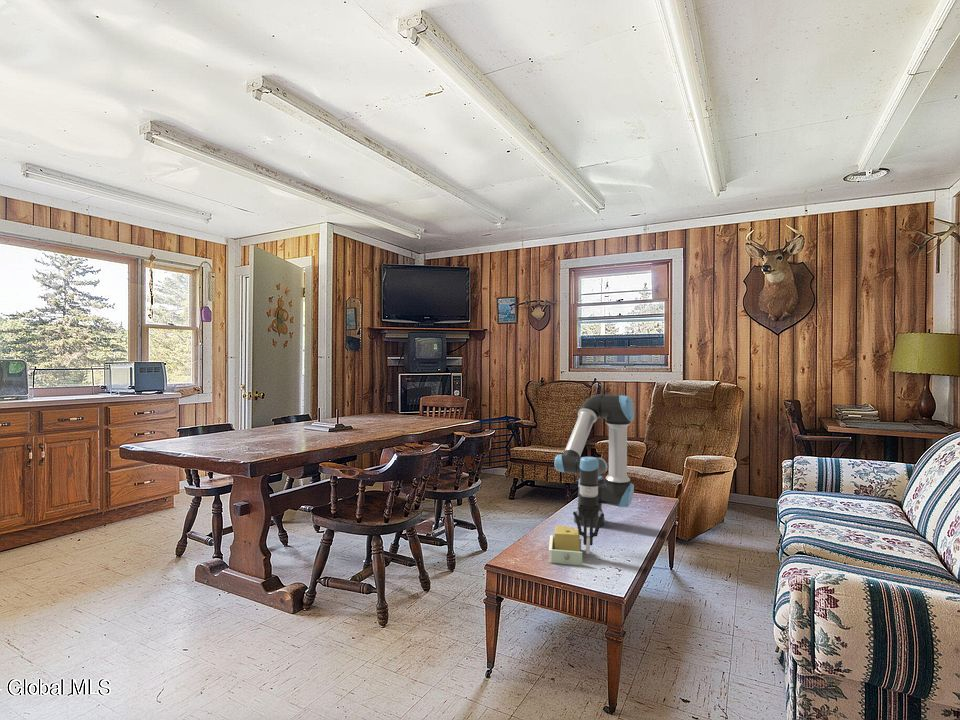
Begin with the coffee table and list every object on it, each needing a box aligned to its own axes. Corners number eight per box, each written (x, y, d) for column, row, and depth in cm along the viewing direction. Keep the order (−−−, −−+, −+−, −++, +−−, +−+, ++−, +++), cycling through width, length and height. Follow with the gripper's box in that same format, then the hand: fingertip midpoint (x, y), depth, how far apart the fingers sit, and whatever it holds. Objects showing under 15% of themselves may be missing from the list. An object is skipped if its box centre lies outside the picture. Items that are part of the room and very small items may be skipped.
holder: (550, 546, 222) (550, 534, 222) (580, 548, 220) (581, 537, 220) (548, 563, 203) (548, 550, 203) (582, 566, 201) (582, 553, 201)
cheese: (580, 549, 218) (579, 526, 218) (579, 559, 207) (579, 534, 207) (555, 548, 220) (555, 525, 220) (553, 557, 209) (553, 533, 209)
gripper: (573, 496, 208) (572, 554, 208) (605, 498, 206) (604, 557, 206) (572, 492, 216) (571, 548, 215) (604, 493, 213) (603, 550, 213)
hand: (587, 552), depth 210 cm, fingers closed
